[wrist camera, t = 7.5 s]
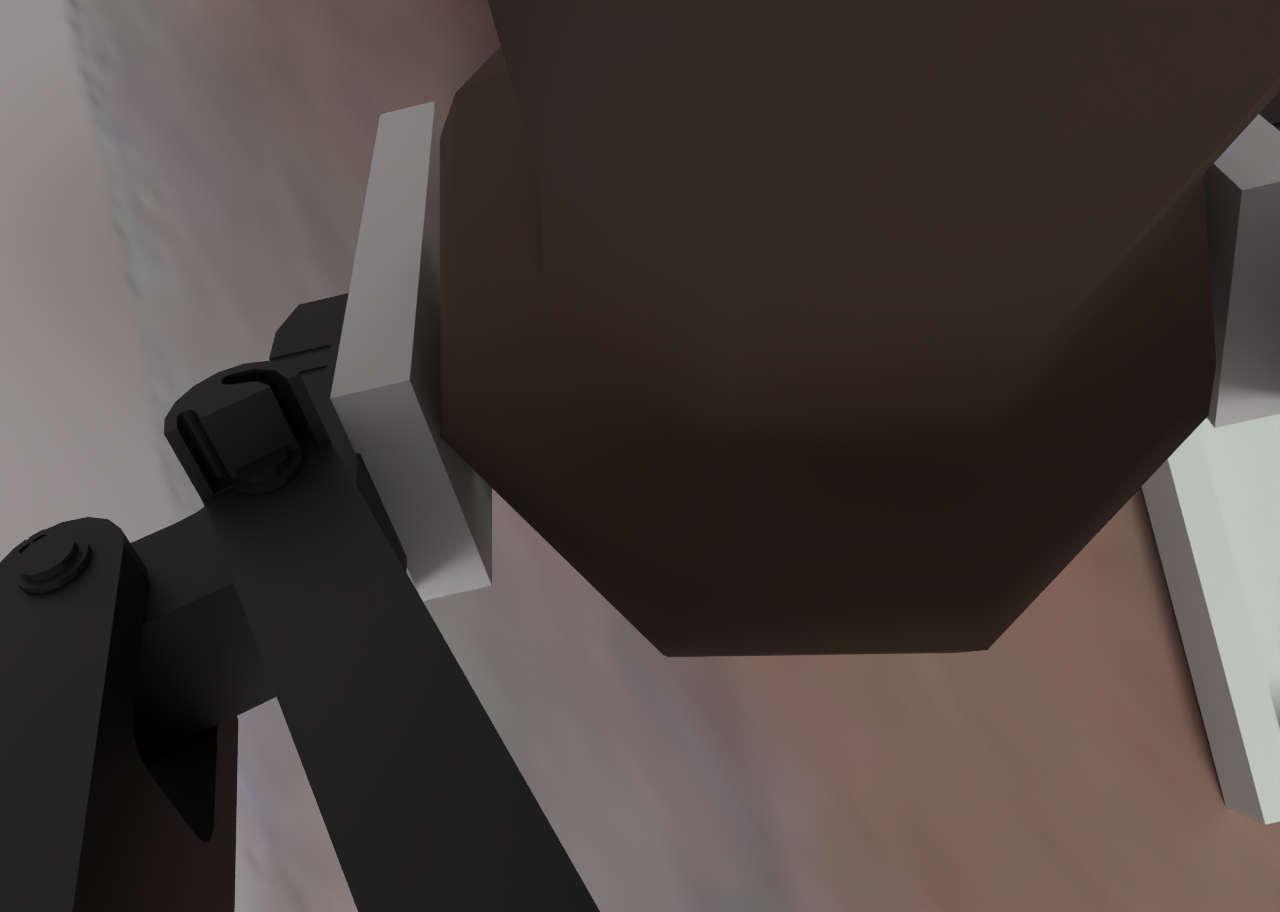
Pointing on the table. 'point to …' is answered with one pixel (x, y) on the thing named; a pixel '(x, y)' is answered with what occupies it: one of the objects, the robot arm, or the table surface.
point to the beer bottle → (834, 296)
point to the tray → (1228, 595)
